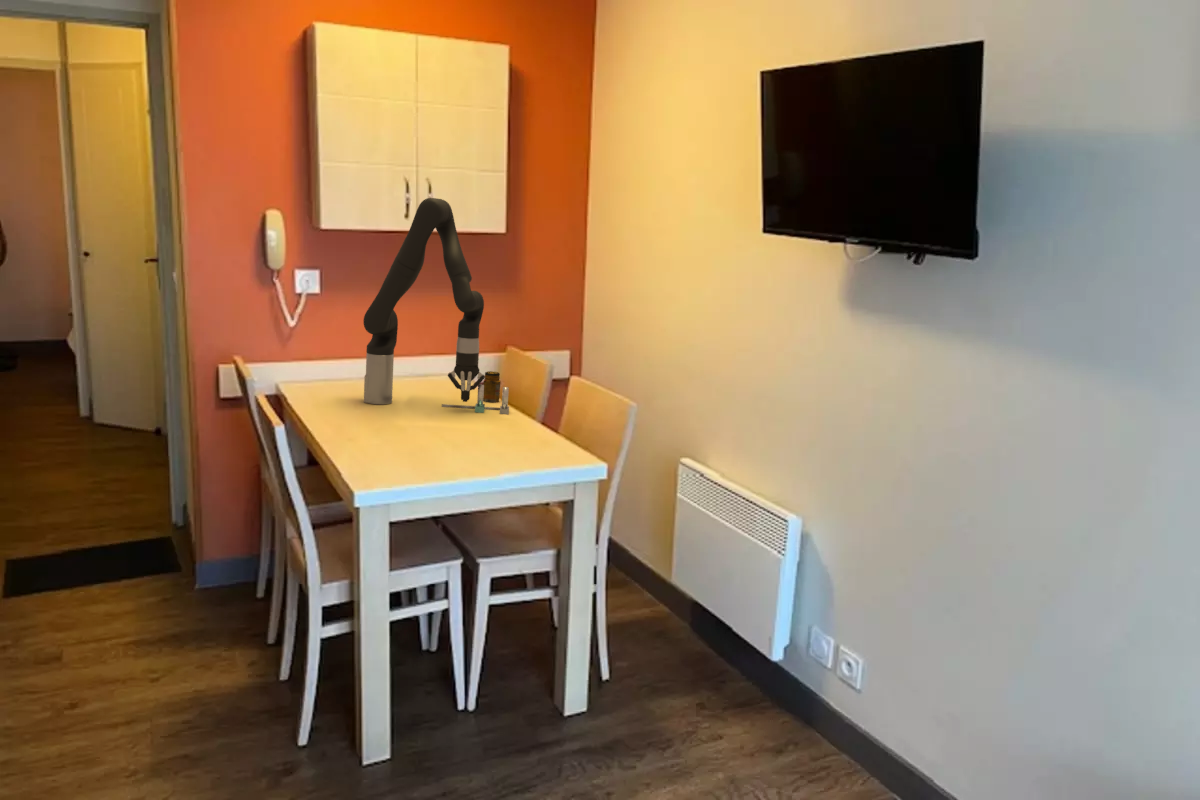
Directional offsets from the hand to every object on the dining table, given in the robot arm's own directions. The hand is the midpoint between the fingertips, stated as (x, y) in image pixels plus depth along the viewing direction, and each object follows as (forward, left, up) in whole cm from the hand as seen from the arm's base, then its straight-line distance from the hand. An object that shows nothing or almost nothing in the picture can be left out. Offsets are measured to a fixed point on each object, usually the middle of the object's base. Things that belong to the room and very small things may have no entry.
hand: (465, 401), depth 317 cm
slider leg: (+5, 0, -3) cm, 6 cm away
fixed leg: (+13, 0, -3) cm, 14 cm away
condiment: (+8, +18, -5) cm, 20 cm away
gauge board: (+3, -1, -5) cm, 6 cm away
